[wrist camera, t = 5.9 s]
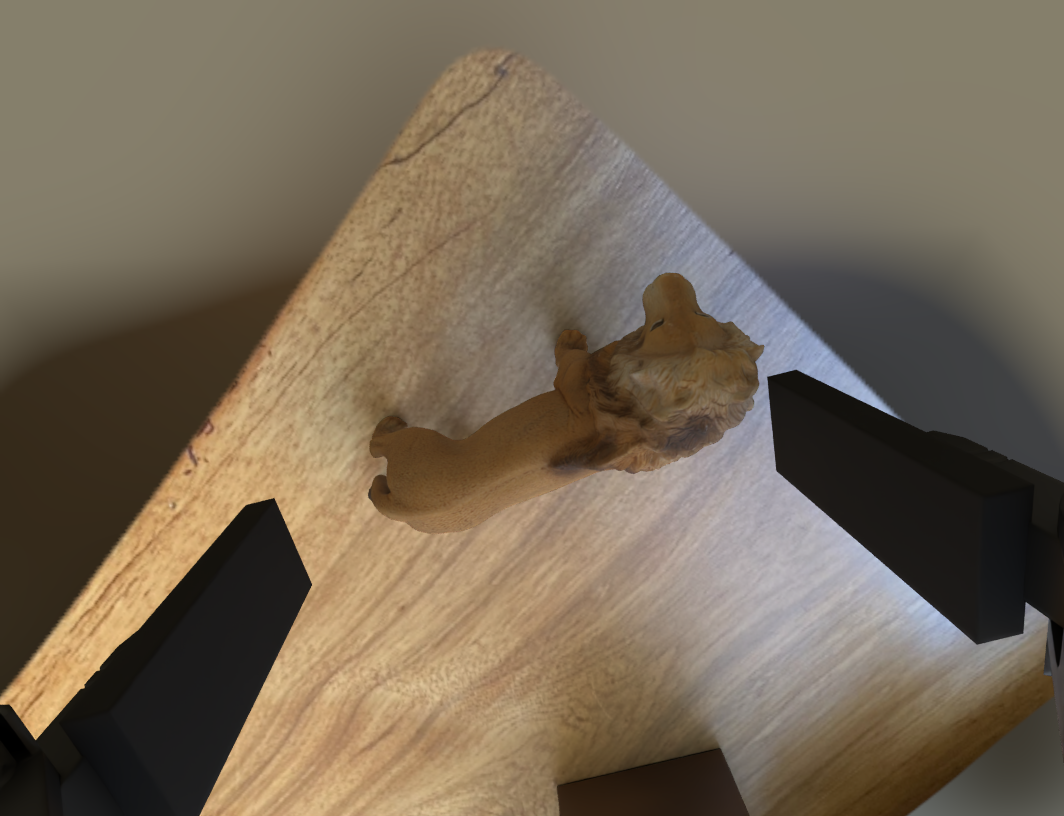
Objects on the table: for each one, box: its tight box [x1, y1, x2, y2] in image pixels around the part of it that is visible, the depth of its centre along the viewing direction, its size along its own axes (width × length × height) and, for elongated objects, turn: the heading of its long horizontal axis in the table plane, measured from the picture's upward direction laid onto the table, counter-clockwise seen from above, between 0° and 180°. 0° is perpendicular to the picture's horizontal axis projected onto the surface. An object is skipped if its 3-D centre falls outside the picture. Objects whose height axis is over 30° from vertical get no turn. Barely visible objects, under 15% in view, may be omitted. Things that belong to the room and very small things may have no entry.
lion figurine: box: [368, 273, 764, 534], centre depth 18 cm, size 15×5×9 cm, turn 123°
